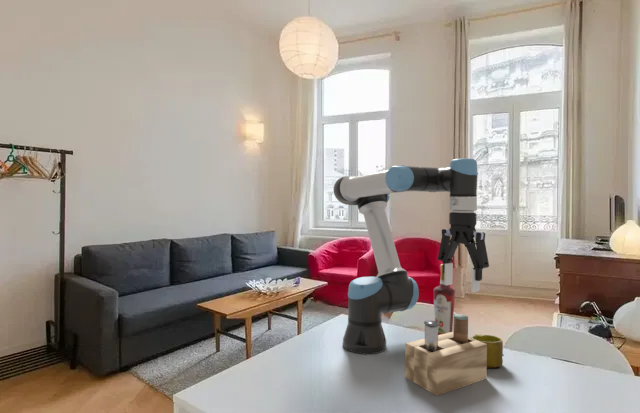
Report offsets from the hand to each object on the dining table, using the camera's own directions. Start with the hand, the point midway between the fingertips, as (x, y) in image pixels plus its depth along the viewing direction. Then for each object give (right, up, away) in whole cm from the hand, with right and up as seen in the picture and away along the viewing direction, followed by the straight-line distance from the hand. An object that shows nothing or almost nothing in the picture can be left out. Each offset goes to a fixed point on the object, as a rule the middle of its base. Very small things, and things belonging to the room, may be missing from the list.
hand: (461, 288), depth 114 cm
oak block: (-5, -25, -2) cm, 26 cm away
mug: (+11, -26, +9) cm, 29 cm away
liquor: (+3, -25, +25) cm, 36 cm away
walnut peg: (0, -18, 0) cm, 18 cm away
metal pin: (-11, -18, -6) cm, 22 cm away
